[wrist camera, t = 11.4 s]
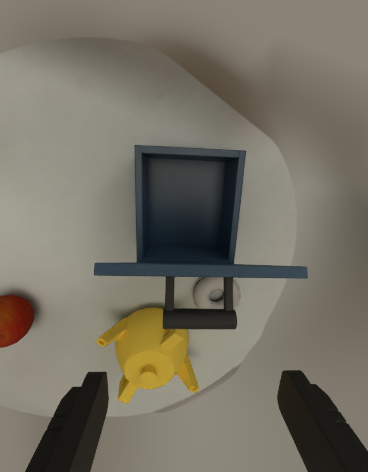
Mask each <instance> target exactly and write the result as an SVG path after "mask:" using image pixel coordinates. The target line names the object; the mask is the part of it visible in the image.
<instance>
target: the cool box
mask: <svg viewBox="0 0 368 472" xmlns="http://www.w3.org/2000/svg"><path fill="white" fill-rule="evenodd" d="M245 156H246V151H243V150H224V149H204V148H183V147H163V146H143V145H142V146H141V145H135V189H136V241H137V263H188V264H234V258H235V249H236V239H237V230H238V221H239V212H240V202H241V193H242V184H243V175H244V166H245Z"/></svg>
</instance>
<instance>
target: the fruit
mask: <svg viewBox="0 0 368 472" xmlns="http://www.w3.org/2000/svg"><path fill="white" fill-rule="evenodd" d="M33 319H34V311H33V308H32V305H31V304H30V303H29V301H27V300H26V299H24V298H22V297H20V296H15V295H5V296H0V348H1V347H7V346H10V345H12V344H15V343H17V342H18V341H19V340H20V339H22V338H23V337H24V336H25V335H26V334H27V332H28V331H29V329H30V327H31V325H32V323H33Z"/></svg>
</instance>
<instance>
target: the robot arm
mask: <svg viewBox="0 0 368 472" xmlns="http://www.w3.org/2000/svg"><path fill="white" fill-rule="evenodd" d="M277 399H278V405H279V409H280V411H281V414H282V416H283V418H284V421H285V423H286V425H287V427H288V429H289V432H290V434H291V436H292V438H293V440H294V442H295V444H296V447H297V449H298V451H299V453H300V455H301V458H302V460H303V462H304V464H305V467H306V469H307V471H308V472H368V451H367V450H366V448H365V447H364V445H363V444H362V443H361V441H360V440H359V438H358V437H357V435H356V434H355V433H354V431H353V430H352V429H351V427H350V426H349V424H347V423H346V420H345V419H344V417H343V416H342V414H341V413H340V412H338V409H337V407H336V406H335V405H334V403H333V402H332V400H331V399H330V397H329V396H328V395H327V394H326V393H325V392H324V391H322V390H321V389H320V388H319V387H318V386H317V385H316V384H310V382H309V381H308V379H307V378H306V376H305V375H304V373H303V372H302V371H300V370H288V371H283V372H282V376H281V380H280V385H279V390H278V396H277ZM108 400H109V396H108V382H107V373H106V372H88V373H87V375H86V377H85V379H84V382H83V384H82V386H81V387H72V388H71V389H70V391H69V392H68V393H67V394H66V395H65V396H64V397H63V398H62V399H61V401H60V403H59V405H58V407H57V409H56V411H55V413H54V417H52V419H51V421H50V423H49V425H48V428H47V430H46V431H45V433H44V435H43V437H42V439H41V441H40V443H39V445H38V447H37V449H36V451H35V453H34V455H33V457H32V459H31V461H30V463H29V465H28V467H27V469H26V471H25V472H90V470H91V466H92V463H93V460H94V456H95V453H96V449H97V446H98V442H99V439H100V435H101V431H102V427H103V424H104V420H105V417H106V414H107V409H108Z"/></svg>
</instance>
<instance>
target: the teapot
mask: <svg viewBox="0 0 368 472" xmlns="http://www.w3.org/2000/svg"><path fill="white" fill-rule="evenodd" d="M115 340H116V355H117V359H118V362H119V365H120V367H121V370H122V372H123V377H122V379H121V381H120V385H119V394H118V400H119V401H121V402H124V403H126V404H128V403H129V401H130V399H131V398H132V396H133V395H134V393H135V391H136V390H137V388H138V387H139V388H143V389H155V388H158V387H161V386H163V385H165V384H166V383H168V382H169V381H170V380H171V379H172V378H173V376H174V375H175V374H177V375H178V376H179V377H180V379H181V380H182V381H183V383H184V384H185V385H186V387H187V388H188V390H189V391H192V392H194V393H196V392H197V391H198V389H199V386H198V383H197V380H196V377H195V374H194V371H193V368H192V365H191V363H190V360H189V357H188V354H187V349H188V342H189V339H188V331H187V329H163V309H162V308H154V307H151V308H144V309H140V310H138V311H136V312H134V313H132V314H131V315H129V316H128V317H127V318H126V317H125V318H123V319H122V320H121V321H120V322H118V323H117V324H116V325H114V326H113V327H112V328H110V329H109V330H108V331H107V332H105V333H104V334H103V335H101V336H100V337H99V339H98V340H97V341H96V343H97V344H99V345H100V346H102V347H104V346H105V345H107V344H109V343H111V342H113V341H115Z"/></svg>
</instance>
